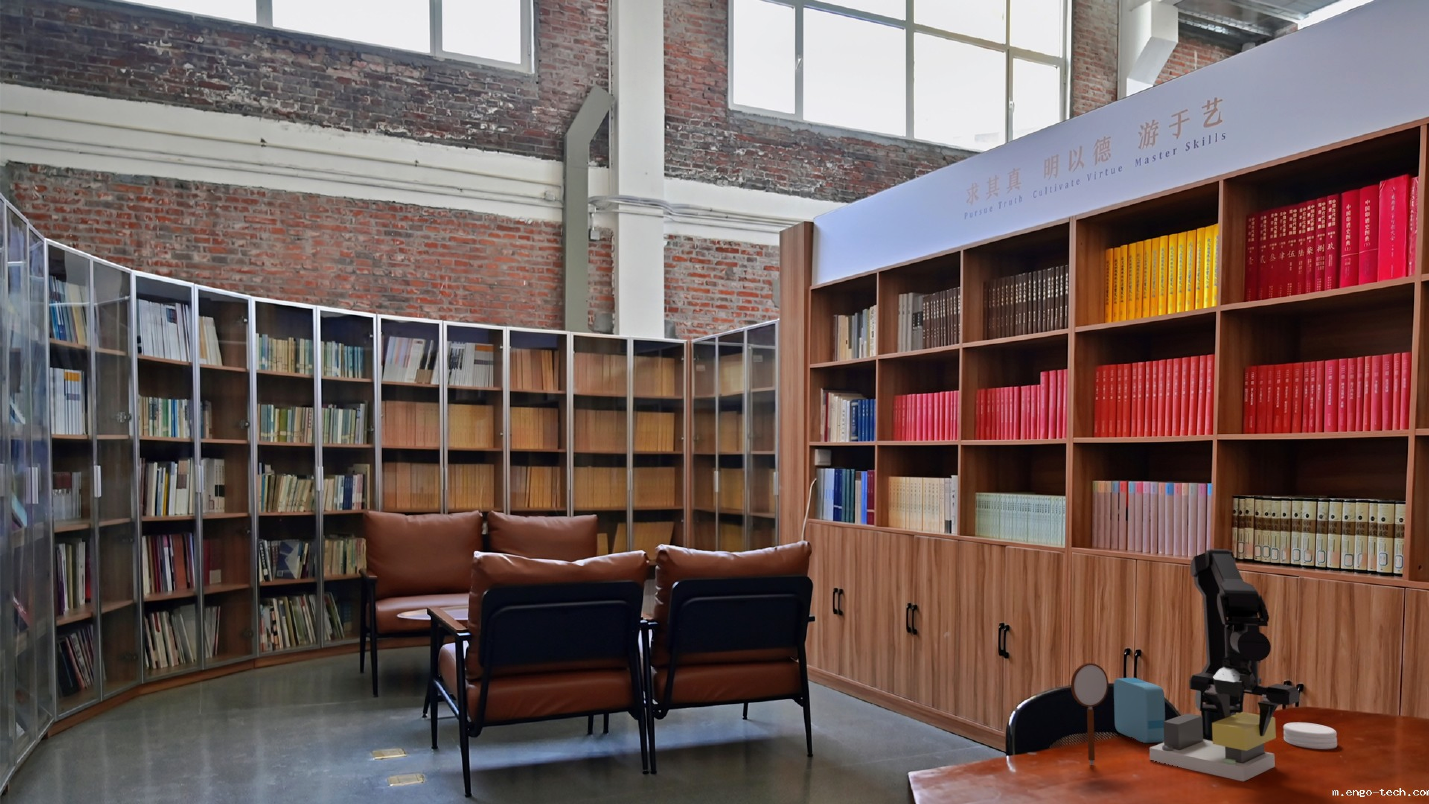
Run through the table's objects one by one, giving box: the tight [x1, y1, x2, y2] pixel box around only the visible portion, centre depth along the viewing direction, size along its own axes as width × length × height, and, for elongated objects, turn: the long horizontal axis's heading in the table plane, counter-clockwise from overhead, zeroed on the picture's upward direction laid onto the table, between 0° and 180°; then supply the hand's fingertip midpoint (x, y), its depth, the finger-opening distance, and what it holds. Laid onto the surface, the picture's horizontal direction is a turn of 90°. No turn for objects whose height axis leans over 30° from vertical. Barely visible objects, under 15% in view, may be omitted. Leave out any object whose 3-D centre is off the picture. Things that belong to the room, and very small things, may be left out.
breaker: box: [1163, 712, 1204, 750], centre depth 204 cm, size 3×11×5 cm, turn 131°
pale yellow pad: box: [1212, 711, 1277, 751], centre depth 195 cm, size 6×14×4 cm, turn 131°
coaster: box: [1282, 721, 1338, 750], centre depth 214 cm, size 10×10×4 cm
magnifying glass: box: [1070, 662, 1109, 766], centre depth 198 cm, size 9×2×20 cm, turn 107°
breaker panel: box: [1149, 739, 1276, 782], centre depth 198 cm, size 18×15×3 cm
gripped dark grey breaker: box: [1225, 743, 1266, 764], centre depth 195 cm, size 3×11×5 cm, turn 131°
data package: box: [1113, 677, 1166, 744], centre depth 219 cm, size 12×4×12 cm, turn 11°
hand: (1244, 732), depth 195 cm, fingers closed on pale yellow pad, 6 cm apart
